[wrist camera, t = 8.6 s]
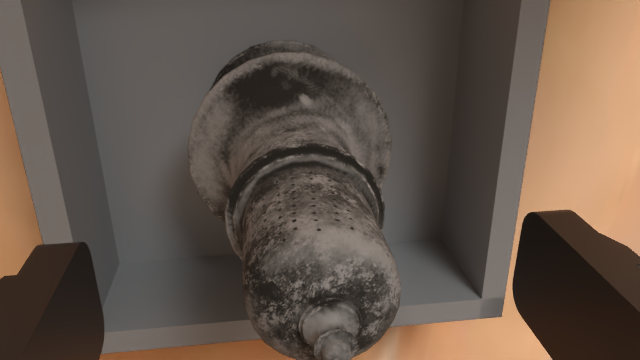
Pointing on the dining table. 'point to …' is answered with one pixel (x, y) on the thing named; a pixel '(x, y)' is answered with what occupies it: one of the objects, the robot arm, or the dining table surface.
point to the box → (183, 102)
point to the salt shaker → (300, 196)
